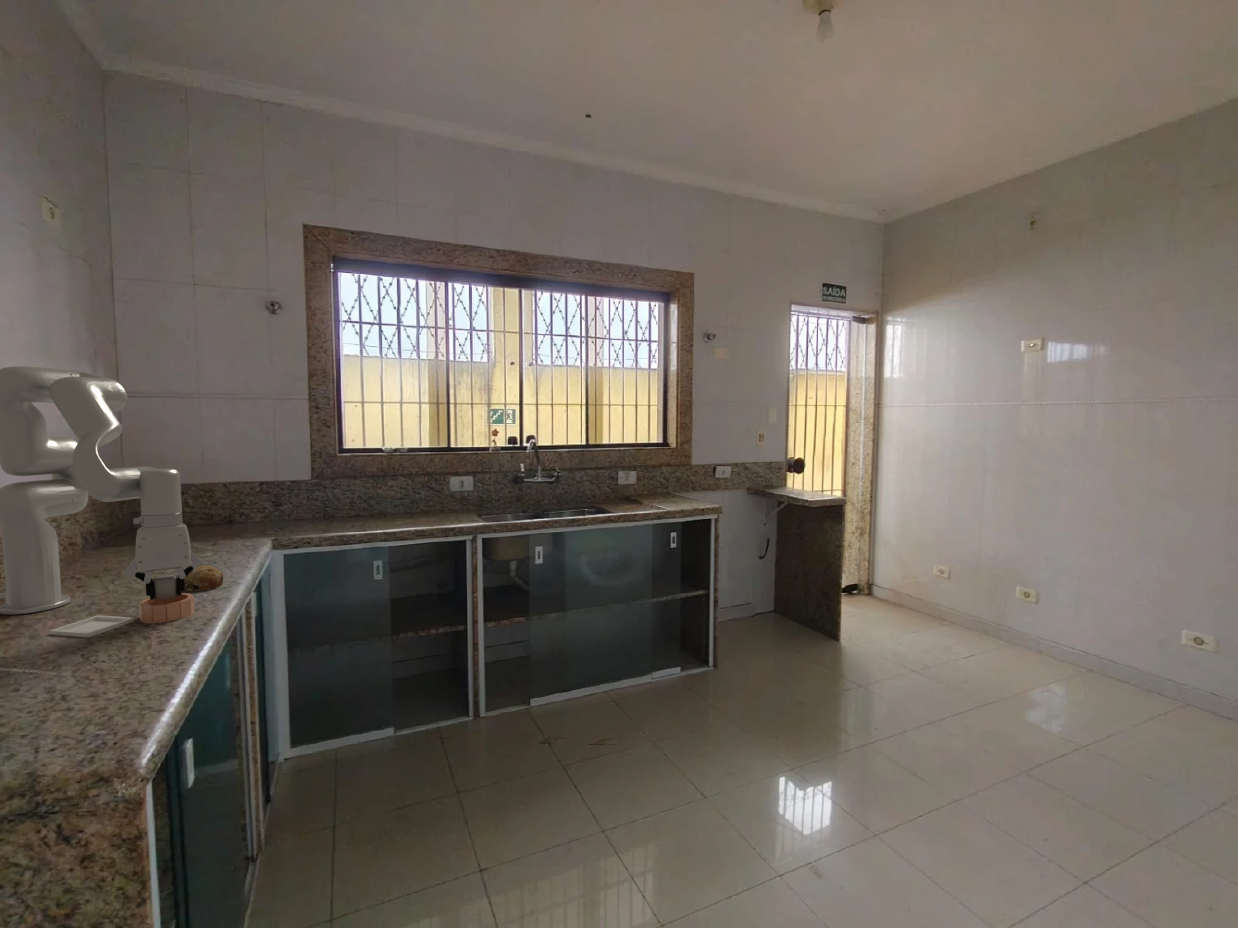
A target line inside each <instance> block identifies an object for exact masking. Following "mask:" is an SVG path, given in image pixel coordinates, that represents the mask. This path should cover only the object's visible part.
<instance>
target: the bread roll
mask: <svg viewBox="0 0 1238 928" xmlns="http://www.w3.org/2000/svg"><path fill="white" fill-rule="evenodd" d="M184 579H185V591H184V592H187V591H191V592H202V591H209V590H208V589H211V590H214V589H213V588H215V589H217V588H216V587H218V588H220V587H222V586H221V585H223V583H224V573H223V572H222V571H221V570H220V569H218V568H217V567H214V566H212V565H206V564H204V565H203V564H201V565H199V566H198V567H196V568H195V569H193V570H192V571H191V572H190V573H189V574H188V575H187V576H186V577H185V578H184ZM219 586H220V587H219Z"/></svg>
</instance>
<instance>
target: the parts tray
mask: <svg viewBox="0 0 1238 928" xmlns="http://www.w3.org/2000/svg"><path fill="white" fill-rule="evenodd" d="M135 621H136V620H135V617H133V616H132V617H129V616H114V615H113V616H112V615H101V614H100V615H99V614H97V615H95V616H91V617H88V618H84V619H82V620H79V621H75V622H72V623H69V624H66V625H63V626H60V627H59V626H58V627H56V628H53V629H51V630H49V635H50V636H65V637H79V638H91V637H94V636H97V635H100V634H103V633H106V632H108V631H111V630H114V629H117V628H121V627H123V626H125V625H128V624H131V623H134V622H135Z"/></svg>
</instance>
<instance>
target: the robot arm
mask: <svg viewBox="0 0 1238 928" xmlns="http://www.w3.org/2000/svg"><path fill="white" fill-rule="evenodd" d="M33 403H47V404H48V403H49V404H54V405H55V406H56V408H57V409H58V411H59V412H60V415H62V417H63V418H64V420H65V421H66V423H67V425H68V426H69V428H70V429H71V431H72V433H73V434H74V436H75V437H76V438H77V440H78V441H76V440H75V439H73V438H71V437H65V436H48V435H49V434H48V430H47V429H48V427H47V420H46V418H45V416H44V415H43V413H42V412H41V410H39V409H38V408H37V406H35V404H33ZM127 403H128V394H127V392H126V390H125V388H124V386H123V385H122V384H120V383H119V382H118V381H116V380H115V379H112V378H109V377H104V376H101V375H97V374H92V373H88V372H84V371H79V370H72V369H62V368H49V367H39V366H38V367H37V366H25V365H24V366H22V365H21V366H19V365H17V366H15V365H14V366H7V367H2V368H0V468H1V469H2V471H3V472H4V473H5V474H7V475H10V476H14V477H31V476H43V475H44V476H45V475H51V478H52V479H44V480H43V479H41V480H40V479H38V480H27V481H19V482H13V483H8V484H6V485H4V486H1V487H0V532H1V541H2V552H3V553H2V555H3V563H4V565H3V566H4V577H5V590H4V592H0V599H4V601H5V602H4V604H1V605H0V614H1V615H22V614H30V613H37V612H43V611H47V610H48V611H49V610H52V609H56V608H59V607H62V606H65V605H67V604H69V603H70V601H71V596H69V595H67V594H62V583H61V569H60V555H59V554H60V553H59V541H58V534H57V531H56V530H55V529H54V527H53V526H52V525H50V524H49V523H48V521H46V519H47V518H51V517H58V516H66V515H72V514H76V513H78V512H79V513H80V512H81V511H82V510H84V509H85V508H86V506H87V504H88V501H89V495H90V496H91V497H92V498H93V499H95V500H97V501H99V502H105V503H110V502H118V501H126V500H134V499H135V500H136V499H139V500H140V514H141V515H139V517H138V516H137V517H133V524H134V525H136V524H137V525H140V527H139V528H138V529H137V530H136V538H135V558H134V559H133V560H132V561H131V562H130V563H129V565H128V566H127V567H126V568H125V570H124V572H125V573H126V574H127V575H130V576H133V577H136V579H138V580H140V581H142V582H143V584H145V591H146V592H145V593H146V594H145V595H146V597H149V598H150V600H153V599H154V583H153V578H154V577H152V575H153V573H154V572H155V571H156V572H157V571H162V570H163V571H165V570H171V569H174V570H175V569H176V572H177V592H178V595H179V596H181V595H182V593H183V592H186V591H185V579H184V578H185V577H186V576H187V575H188V574H189V573H190V572H191V571H192V570H193V569H195V568H196V567H198V566H202V565H203V564H202V562H203V561H202V559H200V558H199V557H198V556H197V555H196V554H195V553H194V552H193V551H192V550H191V542H190V541H191V539H190V534H189V530H188V526H187V525H186V524H185V523H183V506H182V505H183V504H182V487H181V485H182V484H181V475H180V474H181V473H180V472H179V471H178V469H174V468H156V467H152V466H135V467H134V466H132V467H119V468H118V467H116V468H107V466H106V465H105V463H104V462H103V460H102V458H101V457H100V454H99V452H98V448H100V447H103V446H105V445H107V444H109V443H111V442H112V441H114V440H116V439H117V438H118V437H120V435H121V434H122V432H123V431H124V430H123V425H122V424H121V422H120V421H119V420H118V418H117V416H116V415H115V414H114V413H115V412H116V413H117V412H120V411H121V410H123V409H124V408H125V407H126V405H127ZM185 567H186V568H185ZM144 572H145V573H144Z"/></svg>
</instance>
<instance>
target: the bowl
mask: <svg viewBox="0 0 1238 928" xmlns="http://www.w3.org/2000/svg"><path fill="white" fill-rule="evenodd" d="M194 612H195V596H194V595H193V594H192V593H190V592H188V593H187V592H186V593H185V592H184V593H183V592H182V595H181V596H179V595H178V597H177V598H174V599H170V600H164V601H155V600H154V599H153V600H150V597H149V598H146V599H143V600H141V601H140V602H139V603H138V617H139V618H138V619H140V622H141V623H145V624H158V623H168V622H171V621H172V622H173V621H176V620H177V621H178V620H180V619H183V618H187V617H190V616H191V615H192V614H193V613H194Z"/></svg>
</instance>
